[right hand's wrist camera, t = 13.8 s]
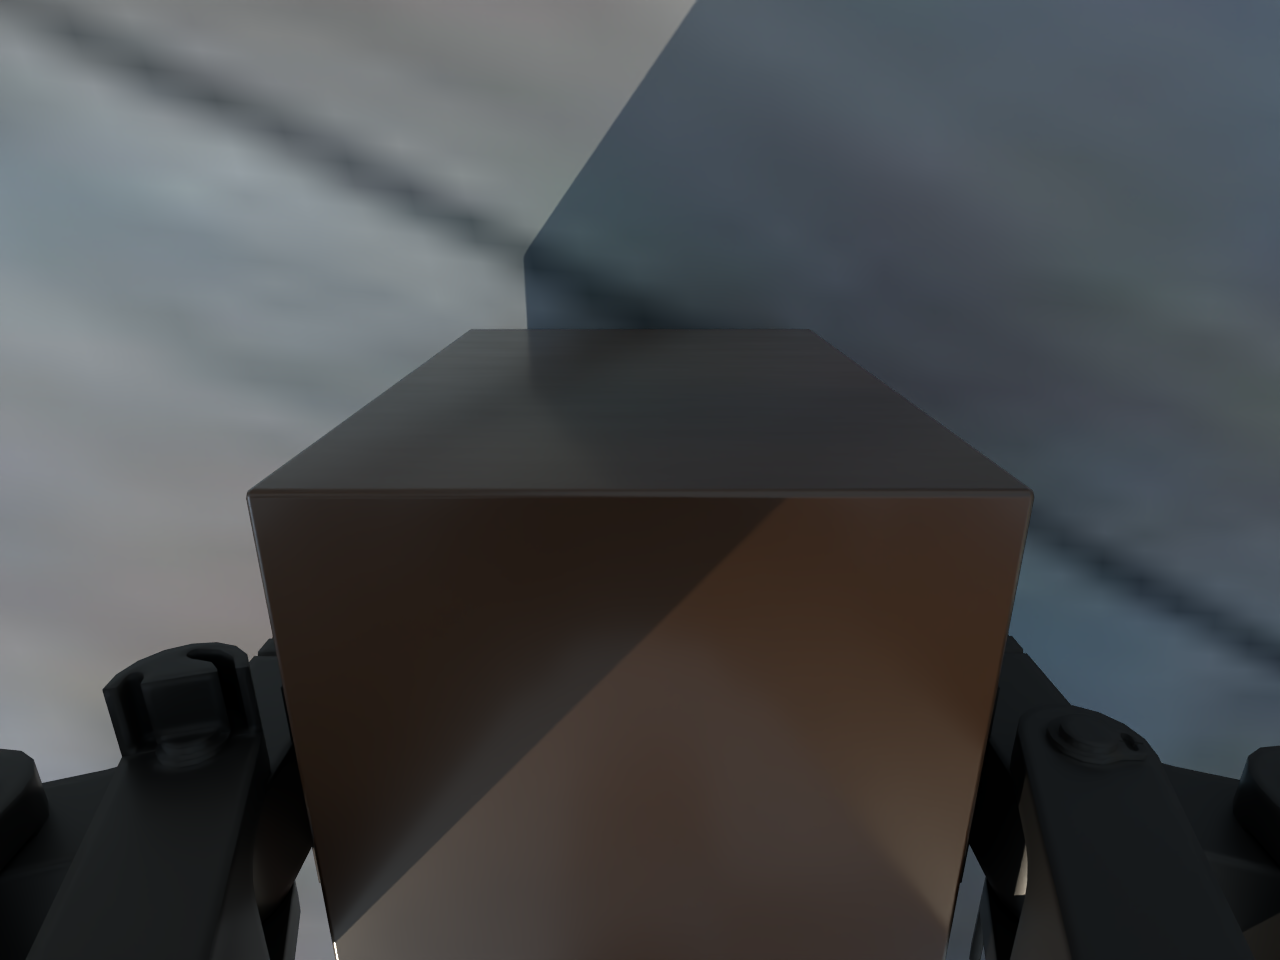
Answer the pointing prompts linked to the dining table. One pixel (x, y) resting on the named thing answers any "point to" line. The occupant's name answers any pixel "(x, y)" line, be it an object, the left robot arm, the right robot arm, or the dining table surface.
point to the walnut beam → (640, 651)
